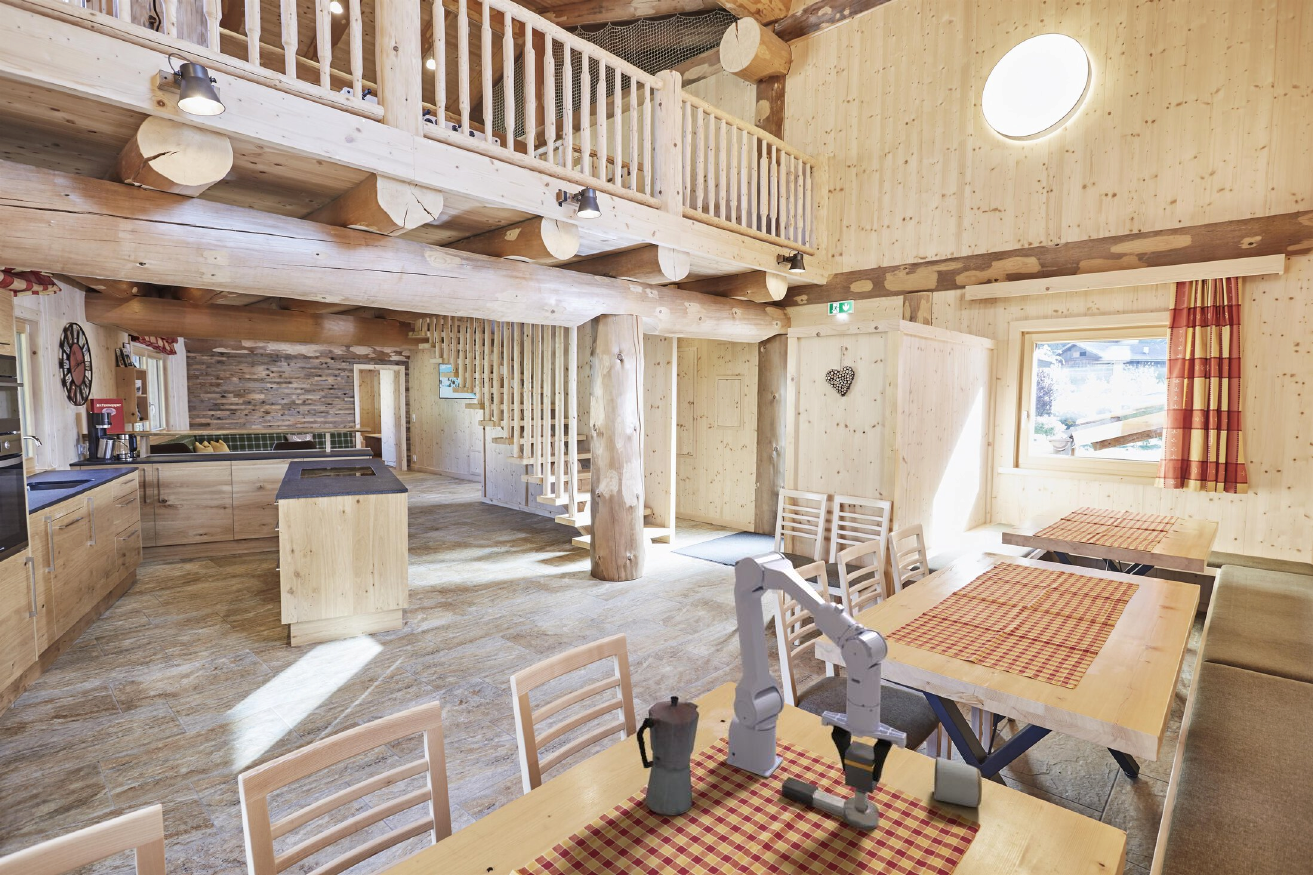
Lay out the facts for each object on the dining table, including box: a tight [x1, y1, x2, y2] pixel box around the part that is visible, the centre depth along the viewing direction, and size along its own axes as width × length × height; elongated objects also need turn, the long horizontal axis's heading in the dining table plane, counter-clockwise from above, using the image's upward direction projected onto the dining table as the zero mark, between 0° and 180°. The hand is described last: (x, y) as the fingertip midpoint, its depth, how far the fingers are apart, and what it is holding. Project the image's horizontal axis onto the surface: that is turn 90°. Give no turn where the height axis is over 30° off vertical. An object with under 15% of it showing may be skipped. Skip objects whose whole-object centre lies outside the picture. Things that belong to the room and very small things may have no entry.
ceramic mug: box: [933, 756, 983, 808], centre depth 122 cm, size 10×8×7 cm
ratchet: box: [781, 776, 880, 831], centre depth 118 cm, size 18×6×5 cm, turn 56°
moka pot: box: [636, 695, 700, 816], centre depth 118 cm, size 10×15×20 cm, turn 137°
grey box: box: [844, 740, 881, 794], centre depth 115 cm, size 5×5×6 cm
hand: (861, 773), depth 114 cm, fingers closed on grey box, 5 cm apart
